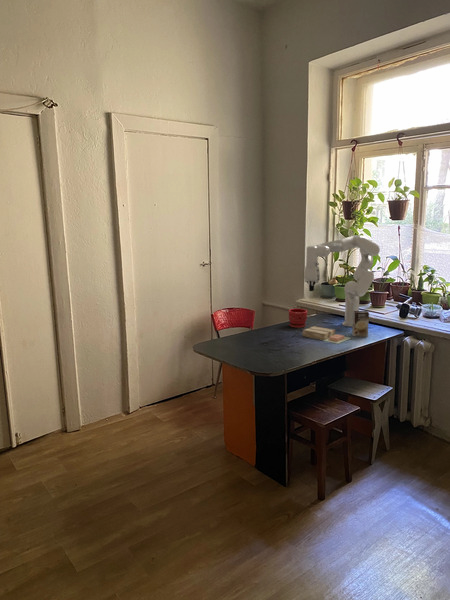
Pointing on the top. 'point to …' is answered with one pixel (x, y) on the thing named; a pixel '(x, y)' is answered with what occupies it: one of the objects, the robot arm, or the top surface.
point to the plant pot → (297, 318)
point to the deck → (318, 333)
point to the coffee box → (360, 323)
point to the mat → (338, 341)
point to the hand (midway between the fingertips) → (311, 290)
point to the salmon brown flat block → (336, 338)
